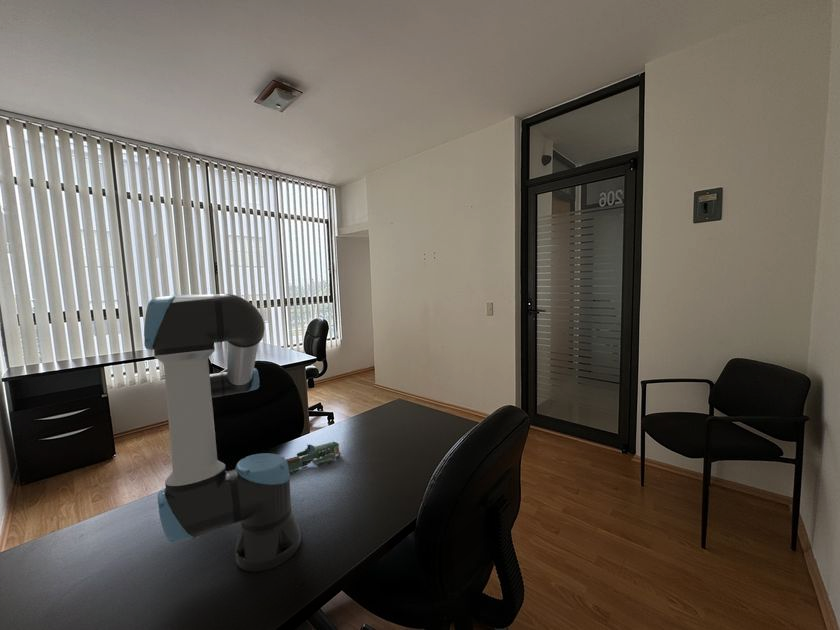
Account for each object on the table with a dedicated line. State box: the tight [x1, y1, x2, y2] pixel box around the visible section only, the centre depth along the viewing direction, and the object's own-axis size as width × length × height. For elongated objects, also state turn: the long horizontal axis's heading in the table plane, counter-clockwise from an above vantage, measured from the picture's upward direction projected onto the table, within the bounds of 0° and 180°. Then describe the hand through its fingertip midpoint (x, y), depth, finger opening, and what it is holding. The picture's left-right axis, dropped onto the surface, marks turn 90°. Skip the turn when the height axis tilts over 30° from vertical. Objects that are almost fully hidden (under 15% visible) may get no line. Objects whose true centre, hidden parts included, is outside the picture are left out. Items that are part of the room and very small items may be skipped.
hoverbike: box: [282, 440, 342, 476], centre depth 127 cm, size 10×25×8 cm, turn 126°
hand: (202, 475), depth 121 cm, fingers closed
